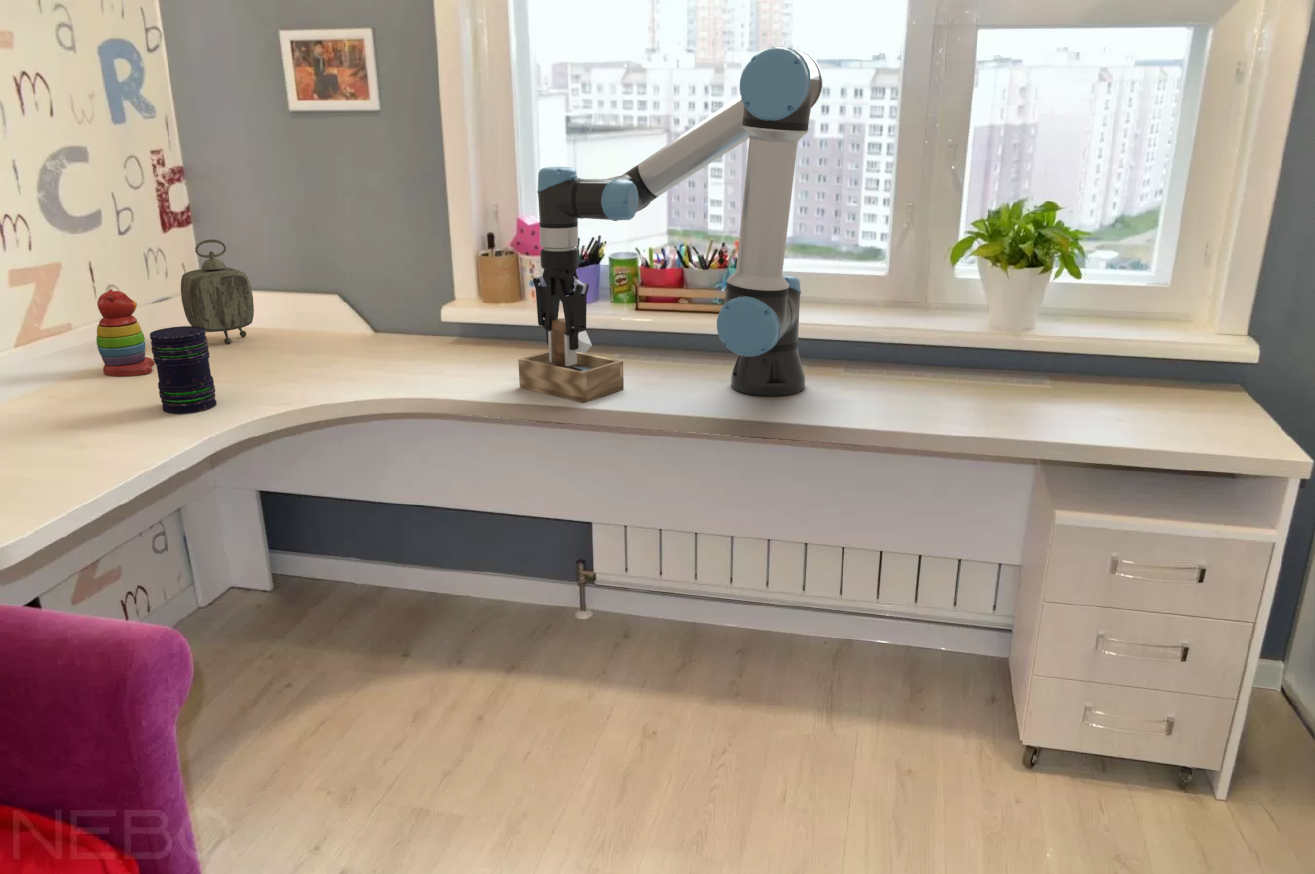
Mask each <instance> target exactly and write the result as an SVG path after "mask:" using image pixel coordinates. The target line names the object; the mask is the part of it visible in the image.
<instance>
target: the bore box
mask: <svg viewBox="0 0 1315 874" xmlns="http://www.w3.org/2000/svg"><path fill="white" fill-rule="evenodd" d="M517 361H518V377H519V379H518V381H519V388H521V389H523V390H525V389H526V390H530V391H534V392H538V393H540V394H541V393H542V394H546V395H550V396H553V397H558V398H562V399H565V400H570V401H574V402H578V403H582V404H585V403H588V402H591V401H594V400H596V399H597V400H598V399H600V398H603V397H606V396H609V395H611V394H614V393H617V392H619V391H623V390H625V388H624V380H625V379H624V360H619V359H616V358H615V359H614V358H610V357H606V356H605V357H604V356H601V355H595V354H590V353H587V352H586V353H581V352H577V364H574V365H573V369H569V368H564V367H560V366H555V365H553V363H551V362H549V350H547V351H542V352H540V353H537V354H532V355H529V356H524V357H521V358H518V360H517Z"/></svg>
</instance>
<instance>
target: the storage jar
mask: <svg viewBox="0 0 1315 874" xmlns="http://www.w3.org/2000/svg"><path fill="white" fill-rule="evenodd" d="M206 334H207V332H205V328H203V327H197V326H191V325H186V326H185V325H183V326H181V325H179V326H170V327H165V328H160V329H157V330H154V331H151V332H150V333H149V338H150V340H151V341H150V344H151V353H152V356H153V358H152V359H153V361H154V365H156V370H157V371H156V372H157V375H158V383H157V388H158V390H159V391H158V393H159V394H158V395H159V398H160V399H161V400H160V401H161V404H162V411H163V412H164V413H166V414H170V415H190V414H196V413H200V412H205V411H206V412H207V411H209V410H211V409H214V408H215V407H216V406H217V405H218V403H217V400H216V386H215V383H214V376H213V375H212V373H211V367H210V361H209V359H210V351H209V348H210V347H209V341H208V339H207V336H206Z"/></svg>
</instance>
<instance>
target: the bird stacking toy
mask: <svg viewBox="0 0 1315 874" xmlns="http://www.w3.org/2000/svg"><path fill="white" fill-rule="evenodd" d="M96 304H97V309H98V311H99V313H100V315H101V316H102V318H101V319H99V322H98V324H97V327H96V346H97V351H98V353H99V355H100V358H101V359H102V362H103V363H104V365H103V369H102V372H103V374H104V375H106V376H110V377H111V376H112V377H136V376H145V375H148V374H151V373H152V372H153V368H152V367H153V366H155V363H154V360H153V358H152V357H147V356H146V348H147V347H146V341H145V340H146V338H145V335H144V332H143V330H142V328H141V325H140V323H139V321H138V318H136V317H135V316H134V315H133V314H134V312H135V311H136V310H137V306H138V304H137V301H136V300H134V299H131V298H130V297H129V296H128V295H127V294H126V293H124V292H123V291H120V290H113V289H111V288H110V289H108V291H106V292H103V294H101V295H100V296H99V297H98V299H97V303H96Z"/></svg>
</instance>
